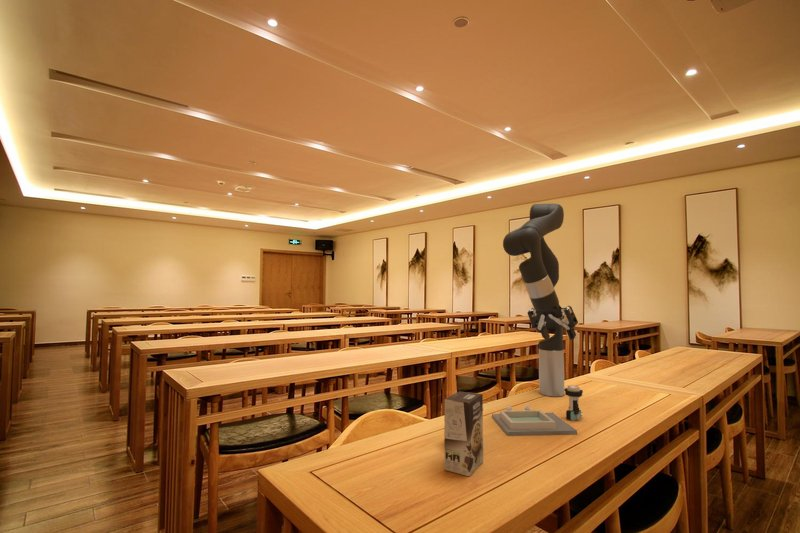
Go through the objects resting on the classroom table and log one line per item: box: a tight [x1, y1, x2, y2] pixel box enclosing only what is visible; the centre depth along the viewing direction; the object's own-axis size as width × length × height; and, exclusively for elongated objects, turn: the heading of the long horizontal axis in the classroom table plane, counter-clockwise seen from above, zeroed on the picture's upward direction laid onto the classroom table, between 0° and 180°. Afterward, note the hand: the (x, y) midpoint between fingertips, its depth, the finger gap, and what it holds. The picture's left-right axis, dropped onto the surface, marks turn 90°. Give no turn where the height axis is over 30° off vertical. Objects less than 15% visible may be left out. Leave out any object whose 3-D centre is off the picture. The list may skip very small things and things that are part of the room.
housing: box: [491, 404, 578, 437], centre depth 120 cm, size 16×20×4 cm
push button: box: [564, 385, 584, 422], centre depth 126 cm, size 7×5×10 cm
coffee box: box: [443, 390, 484, 477], centre depth 93 cm, size 9×6×16 cm
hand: (559, 338), depth 122 cm, fingers open, 8 cm apart
